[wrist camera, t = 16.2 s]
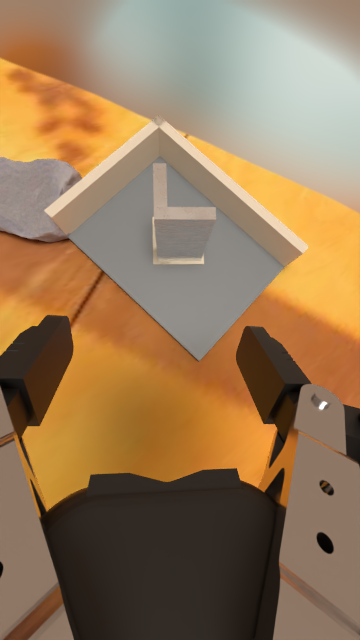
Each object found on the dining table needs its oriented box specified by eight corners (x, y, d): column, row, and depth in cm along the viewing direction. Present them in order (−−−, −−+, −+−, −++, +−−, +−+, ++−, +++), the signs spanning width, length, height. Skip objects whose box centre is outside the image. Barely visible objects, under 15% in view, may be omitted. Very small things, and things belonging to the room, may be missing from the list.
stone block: (83, 250, 31) (90, 177, 30) (61, 238, 26) (68, 151, 26) (5, 245, 32) (11, 175, 32) (-30, 232, 27) (-23, 149, 27)
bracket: (157, 261, 28) (153, 219, 19) (157, 221, 29) (153, 163, 20) (200, 260, 29) (216, 219, 20) (198, 221, 29) (212, 164, 21)
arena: (64, 234, 29) (43, 210, 24) (159, 151, 32) (158, 114, 27) (198, 361, 28) (204, 362, 23) (286, 263, 31) (309, 246, 26)
